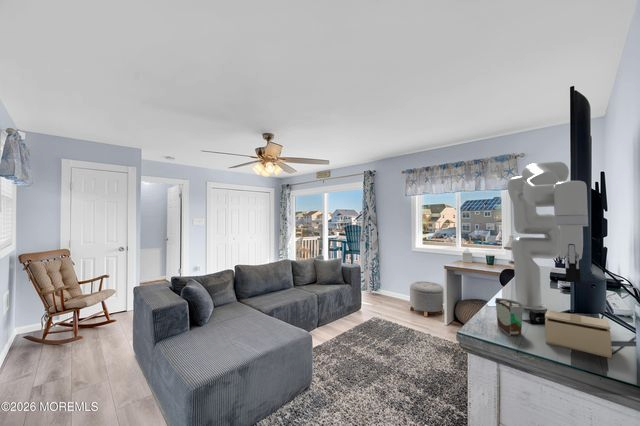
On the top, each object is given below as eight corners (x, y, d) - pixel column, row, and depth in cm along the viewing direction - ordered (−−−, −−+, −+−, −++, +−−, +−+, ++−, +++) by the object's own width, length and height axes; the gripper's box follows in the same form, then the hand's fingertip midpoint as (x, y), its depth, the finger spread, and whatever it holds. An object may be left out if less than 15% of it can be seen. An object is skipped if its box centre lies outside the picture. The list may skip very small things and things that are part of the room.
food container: (533, 339, 87) (532, 308, 87) (512, 338, 88) (511, 307, 88) (514, 326, 99) (513, 298, 99) (495, 324, 100) (494, 297, 100)
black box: (529, 327, 99) (529, 314, 99) (514, 320, 106) (514, 308, 106) (561, 326, 99) (561, 314, 100) (544, 319, 107) (544, 308, 107)
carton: (548, 333, 92) (547, 312, 92) (608, 345, 82) (607, 322, 83) (546, 343, 84) (545, 320, 84) (611, 358, 74) (610, 332, 75)
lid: (547, 311, 92) (547, 309, 92) (607, 321, 82) (607, 319, 82) (545, 317, 84) (544, 315, 84) (610, 329, 75) (610, 326, 75)
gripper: (555, 221, 90) (557, 276, 90) (553, 221, 79) (555, 284, 79) (587, 221, 85) (589, 279, 84) (589, 221, 74) (591, 288, 74)
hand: (573, 281), depth 82 cm, fingers closed
